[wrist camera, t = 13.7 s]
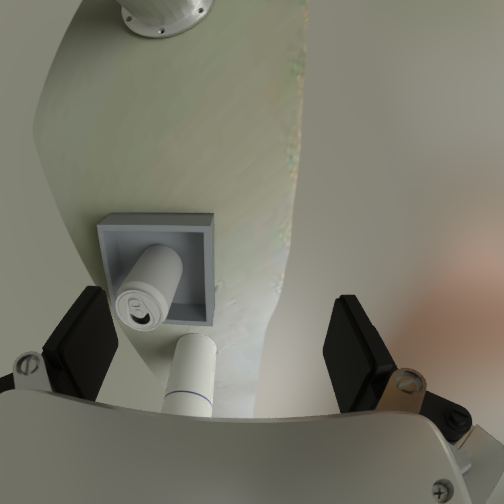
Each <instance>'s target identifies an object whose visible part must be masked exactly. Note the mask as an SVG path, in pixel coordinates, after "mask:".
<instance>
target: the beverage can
mask: <svg viewBox="0 0 504 504" xmlns="http://www.w3.org/2000/svg"><path fill="white" fill-rule="evenodd" d="M182 272H183V264H182V260H181V258H180V257H179V255H178V254H177V253H176V252H175V251H174V250H173V249H171V248H169V247H167V246H164V245H154V246H151V247H149V248H147V249H146V250H145V251H144V252H143V254H142V255H141V257H140V258H139V260H138V261H137V262H136V264H135V265H134V267H133V268H132V270H131V271H130V273H129V274H128V276H127V277H126V279H125V280H124V282H123V283H122V285H121V286H120V288H119V290H118V292H117V295H116V303H115V308H116V312H117V314H118V316H119V318H120V319H121V320H122V321H123V322H124V323H125V324H126V325H127V326H129V327H130V328H133V329H135V330H138V331H151V330H154V329H156V328H157V327H158V326H159V325H160V324H161V323H162V322H163V321H164V320H165V319H166V317H167V315H168V312H169V309H170V306H171V303H172V300H173V297H174V295H175V292H176V289H177V286H178V283H179V281H180V278H181V275H182Z"/></svg>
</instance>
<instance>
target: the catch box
mask: <svg viewBox="0 0 504 504" xmlns="http://www.w3.org/2000/svg"><path fill="white" fill-rule="evenodd" d="M97 230H98V237H99V244H100V250H101V255H102V261H103V266H104V272H105V277H106V281H107V286H108V291H109V295H110V299H111V304H112V308H113V312H114V316H115V319H119V320H121V319H120V318H119V316H118V314H117V312H116V308H115V303H116V295H117V292H118V290H119V288H120V286H121V285H122V283H123V282H124V280H125V279H126V277H127V276H128V274H129V273H130V271H131V270H132V268H133V267H134V265H135V264H136V262H137V261H138V260H139V258H140V257H141V255H142V254H143V252H144V251H145V250H146V249H147V248H149V247H151V246H154V245H164V246H167V247H169V248H171V249H173V250H174V251H175V252H176V253H177V254H178V255H179V257H180V258H181V260H182V264H183V272H182V275H181V278H180V281H179V283H178V286H177V289H176V292H175V295H174V297H173V300H172V303H171V306H170V309H169V312H168V315H167V317H166V319H165V320H164V321H163V322H162V323H163V324H177V325H194V326H213V317H214V309H215V291H214V214H211V213H111V214H110V215H108V216H107V217H106V218H105V219H103V220H102V221H101V222H100V223H98V224H97Z"/></svg>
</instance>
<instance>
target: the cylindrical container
mask: <svg viewBox="0 0 504 504" xmlns="http://www.w3.org/2000/svg"><path fill="white" fill-rule="evenodd" d="M216 351H217V350H216V345H215V343H214V342H213V341H212V340H211V339H210V338H208V337H206V336H204V335H201V334H194V333H192V334H187V335H184V336H182V337H181V338H180V339H179V340H178V342H177V345H176V349H175V353H174V357H173V362H172V366H171V370H170V375H169V379H168V384H167V388H166V393H165V398H164V402H163V407H162V412H161V413H166V414H175V415H185V416H197V417H212V403H213V389H214V376H215V363H216Z"/></svg>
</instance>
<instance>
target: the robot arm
mask: <svg viewBox="0 0 504 504" xmlns="http://www.w3.org/2000/svg"><path fill="white" fill-rule="evenodd" d="M115 1H116V2H118V3H119V4H120V5H121V6H122V8H121V13H122V18H123V20H124V22H125V24H126V25H127V26H128V27H129V29H131V30H132V31H133V32H135V33H137V34H139V35H141V36H144V37H148V38H166V37H170V36H175V35H177V34H180V33H183V32H185V31H187V30H189V29H191V28H192V27H194V26H195V25H196V24H198V23H199V22H200V21H201V20H202V19H203V18H204V17H205V16H206V15H207V13H208V12H209V11H210V9H211V7H212V5H213V3H214V0H115ZM201 11H202V13H200V12H201ZM131 19H132V20H131ZM130 20H131V21H130ZM163 31H165V32H164V33H162V32H163ZM161 33H162V34H161ZM117 348H118V338H117V334H116V331H115V327H114V323H113V320H112V316H111V312H110V308H109V304H108V300H107V296H106V292H105V291H104V290H102V288H101V287H100V286H87V287H86V288H85V289H84V291H83V292H82V293H81V295H80V296H79V297H78V298H77V300H76V301H75V303H74V304H73V305H72V306H71V308H70V309H69V310H68V312H67V313H66V315H65V316H64V317H63V319H62V320H61V321H60V323H59V324H58V326H57V327H56V329H55V330H54V331H53V333H52V334H51V336H50V337H49V339H48V340H47V342H46V343H45V345H44V346H43V348H42V349H43V352H42V354H39V353H37V352H33V351H31V352H26V353H24V354H21V355H20V356H19V357H18V358H17V359H16V360H15V362H14V365H13V373H11V374H8V375H6V376H4V377H1V378H0V504H485V503H486V501H487V499H488V498H489V496H490V495H491V493H492V491H493V490H494V488H495V486H496V485H497V483H498V481H499V479H500V477H501V476H502V474H503V472H504V445H503V444H502V443H500V442H499V441H498V440H496V439H495V438H494V437H493V436H491V435H490V434H489V433H488V432H486V431H485V430H484V429H482V428H481V427H480V426H479V425H476V426H475V427H474V426H473V425H472V418H471V415H470V413H469V412H468V411H467V410H466V409H465V408H464V407H462V406H460V405H458V404H455V403H453V402H451V401H449V400H447V399H444V398H442V397H440V396H438V395H435V394H433V393H431V392H429V391H426V387H427V383H426V380H425V379H424V377H423V376H422V375H421V374H420V373H419V372H417V371H416V370H414V369H410V368H400V369H398V368H397V366H396V365H395V362H394V361H393V359H392V357H391V355H390V353H389V351H388V349H387V348H386V346H385V344H384V342H383V340H382V338H381V337H380V335H379V333H378V331H377V330H376V328H375V327H374V326H373V325H372V323H371V322H370V320H369V318H368V316H367V315H366V313H365V311H364V310H363V308H362V306H361V304H360V303H359V301H358V299H357V297H356V296H355V295H341V296H340V297H339V298H337V299H336V300H335V303H334V307H333V311H332V315H331V320H330V323H329V327H328V331H327V335H326V338H325V342H324V346H323V356H324V360H325V363H326V366H327V369H328V372H329V376H330V379H331V382H332V385H333V389H334V392H335V396H336V399H337V402H338V406H339V409H340V413H341V414H332V415H320V416H306V417H290V418H259V419H258V418H255V419H254V418H213V417H197V416H185V415H175V414H166V413H157V412H150V411H143V410H136V409H130V408H124V407H119V406H113V405H108V404H103V403H99V402H95V400H96V398H97V395H98V393H99V390H100V388H101V385H102V383H103V380H104V378H105V376H106V373H107V371H108V368H109V366H110V364H111V362H112V359H113V357H114V355H115V352H116V350H117Z"/></svg>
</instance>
